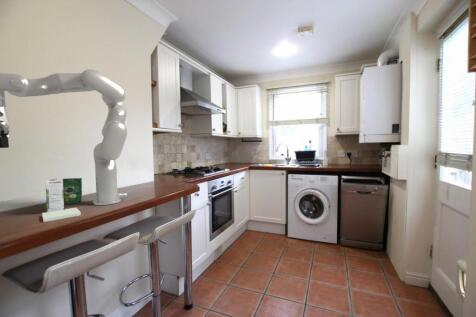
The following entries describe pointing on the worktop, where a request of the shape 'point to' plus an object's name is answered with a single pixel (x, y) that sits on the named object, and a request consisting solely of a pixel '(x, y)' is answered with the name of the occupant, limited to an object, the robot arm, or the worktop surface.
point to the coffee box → (72, 190)
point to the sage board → (60, 214)
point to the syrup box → (54, 195)
